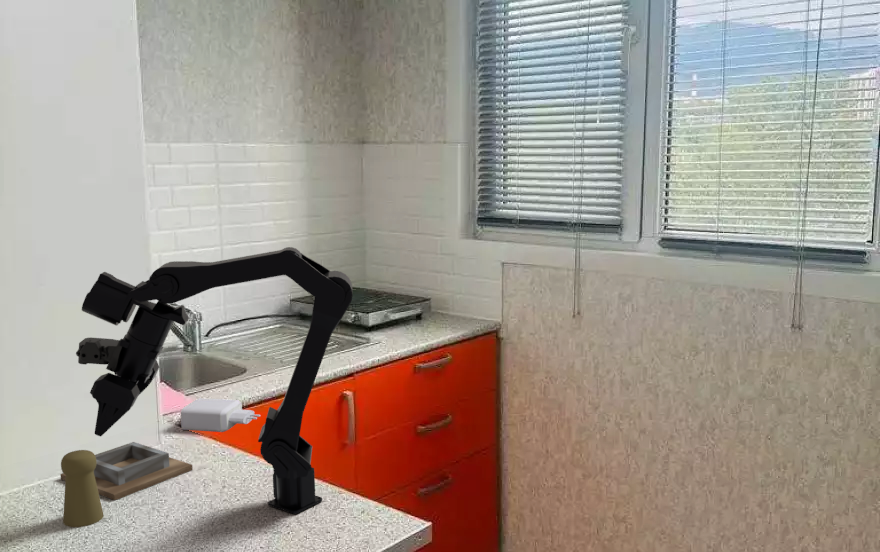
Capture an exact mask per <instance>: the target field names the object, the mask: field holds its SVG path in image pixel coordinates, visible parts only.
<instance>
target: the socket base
mask: <svg viewBox="0 0 880 552" xmlns="http://www.w3.org/2000/svg"><path fill="white" fill-rule="evenodd" d="M94 455H95V457H96V462H97V464H96V468H95V469H94V475H95V480H96V484H97V488H98V493H99V496H103V497H105V498H107V499H110V500H113V501H117V500H119V499H122V498H124V497H127V496H129V495H132V494H134V493H137V492H140V491H142V490H144V489H147V488H150V487H153V486H155V485H157V484H160V483H163V482H166V481H168V480H170V479H173V478H175V477H179V476H181V475H183V474H186V473H188V472H190V471H193V464H191V463H187V462H185V461H182V460H179V459H175V458H173V457H170V453H169V452H166V451H163V450H160V449H157V448H153V447H151V446H148V445H145V444H141V443H139V442H135V441H132V442H129V443H126V444H122V445H120V446H117V447H115V448H111V449H109V450H105V451H103V452H100V453H96V454H94ZM65 479H66V475H65V474H64V473H63V472H62V473H60V480H62V481H64V482H65Z"/></svg>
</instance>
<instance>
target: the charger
mask: <svg viewBox="0 0 880 552" xmlns="http://www.w3.org/2000/svg"><path fill="white" fill-rule="evenodd" d="M259 417H261V414H255V411H254V410H251V409H243V405H242V402H241V401H240V400H239V399H227V398H226V399H223V398H205V397H203V398H202V397H199V398H197V399H195V400H193V401H192V402H190V403H189V404H187V405H186V406H184V407H182V409H181V411H180V422H181V423H180V424H181V425H180V427H181V430H183V431H199V432H212V433H224V432H227V431H229V430H230V429H232V428H233V427H235V426H236V425H237V424H238V425H239V424H240V425H247V424H249V423H251V421H252V420H257V419H258V418H259Z"/></svg>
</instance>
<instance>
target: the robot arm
mask: <svg viewBox="0 0 880 552" xmlns="http://www.w3.org/2000/svg"><path fill="white" fill-rule="evenodd" d="M280 276H286V277H288V278H289V279H291V280H292V281H293V282H294V283H296V284H297V285H298V286H299V287H301V288H302V289H303V290H305V292H307V293H308V294H310V295H311V296H312V297H314V301H313V307H312V313H311V319H310V324H309V328H308V330H307V333H306V336H305V338H304V341H303V344H302V346H301V350H300V353H299V355H298V358H297V361H296V364H295V367H294V370H293V372H292V376H291V377H290V381H289V382H288V383H289V384H288V387H287V389H286V392H285V395H284V398H283V400H282V402H281V403H280V405H279V406H278V408H277V409H275V408H273V407H271V406H269V407H268V411H267V415H266V417H265V422H264V424H263V425H262V426H261V429H260V433H259V435H258V440H257V443H260V449H259V450H260V455H261V456H262V458H263V460H264V461H265V462H266V463H267V464H269V465H271V466H272V469H273V474H272V487H273V497H274V498H273V499H271V500H269V501H268V502H267V505H268V506H270V507H272V508H275V509H278V510H281V511H285V512H287V513H290V514H293V515H296V514H299V513H301V512H303V511H304V510H307V509H309V508H311V507H313V506H314V505H317V504H319V503H321V502H322V501H323V497H322V496H319V495H316V479H315V478H316V477H315V468H314V467H312V464H311V462H312V454H313V453H312V452H313V445H311V443H309V442H308V441H307V440H306V439H305V438H303V436H301V435H300V434H301V429H302V428H301V427H302V423H303V415H304V412H305V409H306V407H307V403H308V401H309V397H310V395H311V392H312V389H313V387H314V384H315V381H316V378H317V375H318V372H319V370H320V368H321V364H322V361H323V359H324V356H325V353H326V350H327V348H328V344H329V343H330V339H331V336H332V334H333V333H334V331H335V330H336V328H337V327H338V325H339V324H340V322H341V321H342V319H343V317H344V315H345V314H346V312H347V311H348V308H349V307H350V305H351V303H352V300H353V283H352V281H351V279H350V277H349V276H348V275H347V274H346V273H344V272H342V271H339V270H329V269H328V268H327V267H325V266H324V265H322V264H321V263H318V262H317V261H315V260H313V259H312V258H310V257H308V256H307V255H305V254H303V253H302V252H301V251H300V250H299V249H297V248H295V247H292V246H290V247H284V248H282V249H279V250H273V251H268V252H263V253H257V254H252V255H246V256H240V257H233V258H228V259H223V260H217V261H210V262H209V261H208V262H206V261H204V262H203V261H191V260H190V261H187V260H186V261H183V260H182V261H177V260H176V261H169V262H166V263H164V264H162V265H161V266H160V267H158V268H156V269H155V270H154V271H153V272H152V273H151V275H150V277H149V278H148V280H145V281H144V280H142V281H141V282H139V283H138V284H136V285H133V284H130V283H129V282H126V281H124V280H121V279H119V278H117V277H115V276H114V275H112V274H111V273H110V272H109V273H108V272H106V271H104V272H102V273H99V276H98V278H97V280H96V281H95V282H94V284H93V286H92V287H91V288H90V290H89V291H88V292H87V293H86V296H85V297H84V300H83V302H82V306H81V312H84V313H86V314H89V315H91V316H93V317H96V318H97V319H100V320H102V321H104V322H107V323H109V324H112V325H114V326H119V324H121V323H122V322H124V323H126V324H127V323H128V322H129V321H130V318H131V317H132V316H133V313H134V311H135V310H136V307H137V306H138V308H137V310H136V312H135V314H134V317H133V318H132V321H131V323H130V325H129V327H128V329H127V331H126V334H125V335H124V336H123V338H120V339H114V338H101V337H86V338H83V339H82V340H81V341H80V342H79V343H78V349H77V351H76V353H75V355H76V356H77V357H78V359H77V361H78V364H79V365H87V364H91V365H106V368H105V370H107V371H111V372H112V373H111V372H107V373H105V374H102V375H101V374H100V376H99V377H98V378H96V380H95V381H94V383H93V385H92V387H91V390H89V391H90V392H89V394H90V395H91V397H92V398H93V399H94V400H95V401H96V403H97V404H98V407H97V416H96V421H95V428H94V434H95V436H98V437H102V436H104V434H105V433H107V432H108V430H110V429H111V428H112V427H113V426H114V425H115V424H116V423H117V422H118V421H119V420H121V418H122V417H123V416H124V415H125V414H126V413H128V412H129V411H130V410H131V408H132V407H133V406H134V404H135V403H136V401H137V399H138V397H139V396H140V395H141V394H142V393H143V392H144V391H145V390H146V389H147V388H148V387H149V385H150V384H151V383H152V381H154V379H155V378H156V375H157V374H158V371H159V369H160V365H159V363H158V357H159V356H160V354H161V353H162V351H163V350H164V343H165V342H166V339H167V337H168V335H169V332H170V331H171V329H172V326H173V325H174V323H176V324H179V325H181V326H184V325H185V324H186V323H187V322H188V321H189V319H190V317H189V316H188V314H187V312H186V309H185V305H184V304H181V305H180V306H172V305H171V304H174V303H175V304H176V303H178V302H180V301H183V300H186V299H188V298H189V299H190V298H191V297H194V296H196V295H198V294H200V293H203V292H205V291H208V290H210V289H214V288H219V287H224V286H231V285H236V284H242V283H247V282H253V281H258V280H263V279H269V278H274V277H280ZM156 300H157V302H156V303H155V302H152V301H156ZM113 373H114V374H113Z"/></svg>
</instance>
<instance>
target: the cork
mask: <svg viewBox="0 0 880 552" xmlns="http://www.w3.org/2000/svg"><path fill="white" fill-rule="evenodd" d="M95 455H96V454H95V453H94V452H93V451H90V450H86V449H79V450H74V451H73V450H72V451H70V452H68V453H66V454H64V455H63V457H62V458H61V461H60V468H61V469H60V470H61V472H62V473H64V474H65V475H66V479H65V481H64V483H65V484H64V496H63V498H64V501H63V514H62V515H63V519H62V523H63V525H64V526H65V527H71V528H82V527H88V526H92V525H94V524H96V523H98V522H100V521H101V520H103V518H104V516H105V515H104V511H103V507H102V506H103V505H102V503H101V498H100V494H99V493H98V488H97V484H96V480H95V475H94V469H95V468H96V464H97V462H96V457H95Z"/></svg>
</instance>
